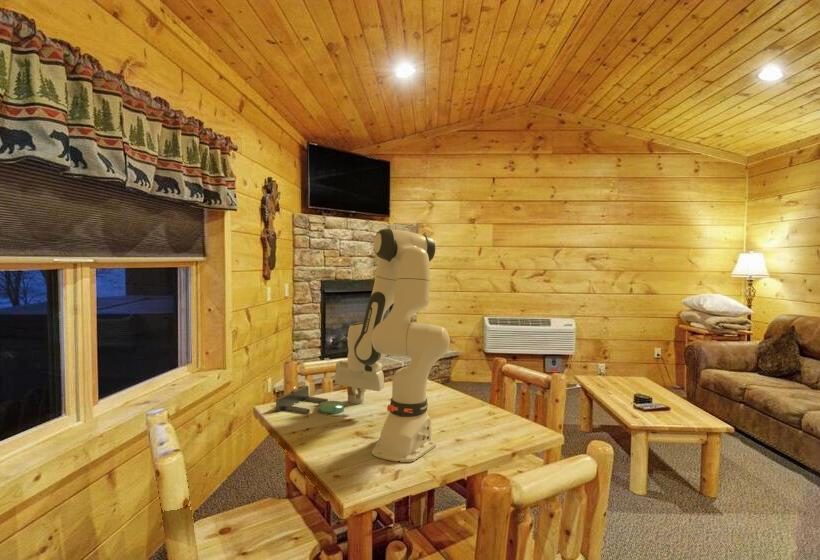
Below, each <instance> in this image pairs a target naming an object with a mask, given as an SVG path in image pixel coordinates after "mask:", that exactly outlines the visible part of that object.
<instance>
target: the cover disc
mask: <svg viewBox="0 0 820 560" xmlns="http://www.w3.org/2000/svg"><path fill="white" fill-rule="evenodd" d="M317 407H318V408H317V412H318V413H320V414H322V415H326V416H327V415H330V416H331V415H332V416H333V415H339V414H341V413H343V412H345V403H344V402H342V401H340V400H339V401H338V400H328V401H325V402H321V403H319V404H318V405H317Z"/></svg>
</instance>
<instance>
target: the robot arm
mask: <svg viewBox="0 0 820 560" xmlns="http://www.w3.org/2000/svg"><path fill="white" fill-rule="evenodd" d="M373 252H374V254H375V255H376V256H377V257H378V258H379V260H378V263H377V267H376V270H375V271H376V272H375V278H374V283H373V288H372V292H371V295H370V298H369V301H368V304H367V307H366V311H365V316H364V319H363V321H359V322H355V323H352V324H351V325H350V326H348V327H349V328H348V332H347V346H348V347H347V348H348V353H347V361H343V360H339V361H337V363H336V364H335V377H334V383H335V384H336V385H338V386H344V387H347V386H349V387H352V391H353V392H354V394H355V398H356V399H363V394H364V395H365V392H366V391H367V390H369V391H375V392H380V391H381V390H383V389H384V388H385V377H384V376H385V375H384V371H383V370H382V369H383V364H382V362H379V360H381V359H384V358H386V357H387V356H390V357H404V358H405V357H407V358H409V359H410V363H409V364H408V365H406V366H403V367H401V368H399V369H397V370H396V371H395V372H394V373H393V376H392V382H391V383H392V389H391V390H392V392H391V399H390V403H389V404H388V405H387V406H386V411H387V412H388V414H387V416H386V419H385V422H384V423H383V426H382V429H381V431H380V434H379V435H380V437H379V439H378V440H377V442H376V443H375V445H374V447H373V449H372V450H371V455H373V456H374V457H376V458H379V459H382V460H386V461H392V462H398V461H400V462H399V463H413V462H415V461H417V460H418V459H420V458H421V457H423V455H425V454H427V453H428V452H429V451H431V450H432V449H434V448H436V446H437V442H436V441H435V440H433V431H432V427H433V426H432V419H431V417H430V416H429V415H428V412H427V411H428V406H429V404H428V399H427V386H428V385H427V384H428V377H429V374H430V371H431V370H432V367H433V366H434V365H435V363H436V362H438V361H439V359H441V358H443V357H444V356H445V355H446V353H448V351H449V349H450V345H451V338H450V334H449V332H448V330H447V329H446V327H444V326H441V325H437V324H432V323H419V322H417V323H416V322H411V318H412V316H413V315H414V314H417V313H419V312H421V311H423V310H425V309H426V308H427V306H428V305H429V302H430V291H431V289H430V288H431V267H430V266H431V265H430V262H431V261H432V260H433V259H434V257H435V254H436V242H435V241H434V238H433V237H431V236H430V235H427V234H424V233H423V234H420V233H416V232H412V231H408V230H404V229H403V230H402V229H392V228H382V229H379V230H378V231H377V232H376V234H375V236H374V240H373ZM391 306H392V307H391ZM390 308H391V309H390ZM388 309H390V311H389V313H388V314H387V316H386V317H385V318H384V316H385V314H386V312H387V310H388ZM357 388H360V391H361V393H358V391H357ZM419 457H420V458H419ZM416 459H417V460H416ZM412 461H413V462H412Z"/></svg>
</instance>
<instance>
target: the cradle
mask: <svg viewBox="0 0 820 560" xmlns="http://www.w3.org/2000/svg"><path fill="white" fill-rule="evenodd" d="M309 387H310V386H309V385H304V386H302V387H299V388H297V389H296V386H291V387H290V392H288V393H286V394H283V395H282V396H279V397H276V398H275V411H276V412H277V413H280V412H282V411H286V410H288V412H292V411H295V412H294V413H298V412H299V413H300V414H306V415H308V414H309V413H310V408H308V407H307V408H305V407H300V406H299V407H298V406H295V405H293V404H294V403H297V402H299V401H301V400H303V401H304V400H307V401H306V402H311V401H314V402H313V403H318V402H319V403H321V402H325V401H329V398H323V397H315V396H309V393H310V392H309V390H310V389H309ZM301 402H302V401H301ZM299 403H300V402H299ZM297 404H298V403H297ZM291 405H293V406H291Z"/></svg>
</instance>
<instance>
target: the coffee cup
mask: <svg viewBox="0 0 820 560" xmlns="http://www.w3.org/2000/svg"><path fill="white" fill-rule="evenodd" d="M346 391H347V401H348V403H349V404H350V405H351V404H352V405H360V404H363V403H364V399H365V393H364V394H363V399H356V398H355V394H354V392H353V391H352V387H349V386H346ZM357 391H358V393H361V391H360V388H357Z"/></svg>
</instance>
